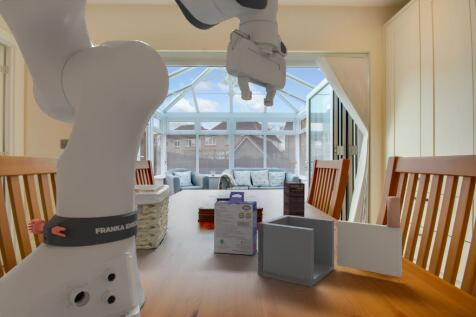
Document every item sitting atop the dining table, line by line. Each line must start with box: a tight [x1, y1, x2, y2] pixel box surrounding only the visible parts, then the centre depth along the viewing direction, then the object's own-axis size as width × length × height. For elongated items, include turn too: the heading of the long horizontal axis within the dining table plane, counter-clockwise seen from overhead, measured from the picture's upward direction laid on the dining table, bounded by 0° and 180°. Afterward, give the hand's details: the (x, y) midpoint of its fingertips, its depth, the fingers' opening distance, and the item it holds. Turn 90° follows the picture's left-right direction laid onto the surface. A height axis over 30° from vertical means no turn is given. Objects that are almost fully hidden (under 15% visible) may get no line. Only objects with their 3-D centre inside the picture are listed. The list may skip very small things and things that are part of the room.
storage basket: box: [135, 184, 171, 250], centre depth 93 cm, size 24×16×15 cm
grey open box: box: [257, 215, 335, 288], centre depth 66 cm, size 12×11×10 cm
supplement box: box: [282, 181, 306, 217], centre depth 98 cm, size 9×5×16 cm, turn 4°
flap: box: [336, 196, 403, 278], centre depth 64 cm, size 12×2×14 cm, turn 54°
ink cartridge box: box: [213, 191, 258, 256], centre depth 81 cm, size 10×6×14 cm, turn 77°
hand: (258, 103), depth 74 cm, fingers open, 8 cm apart
